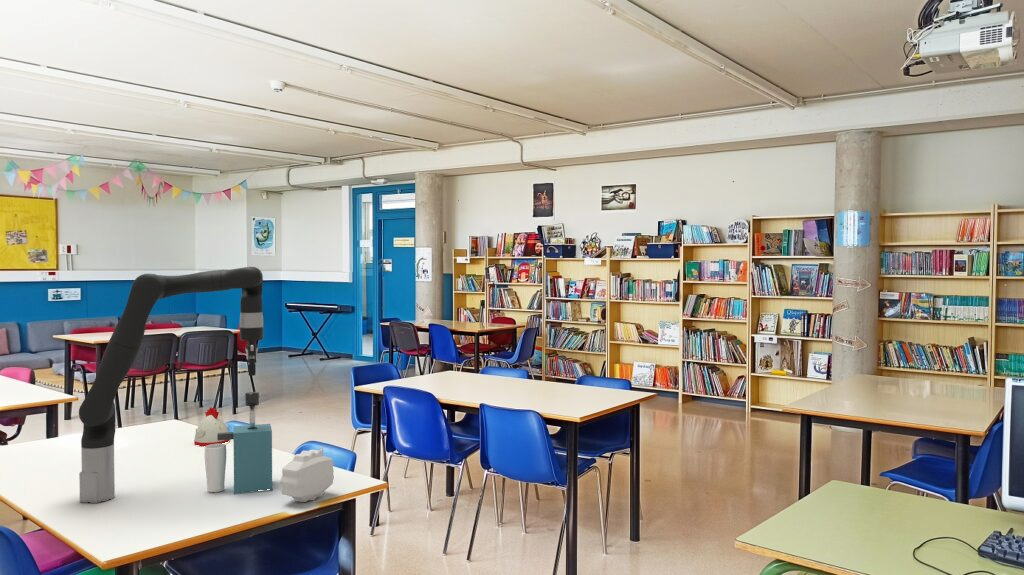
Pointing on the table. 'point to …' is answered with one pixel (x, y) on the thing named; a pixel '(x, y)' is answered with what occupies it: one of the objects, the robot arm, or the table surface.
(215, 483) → the drinking glass
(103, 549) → the table surface
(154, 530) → the table surface
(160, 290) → the robot arm
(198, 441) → the kitchen timer
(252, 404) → the plunger
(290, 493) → the white stepped block
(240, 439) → the dispenser
